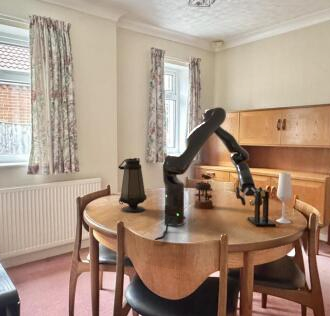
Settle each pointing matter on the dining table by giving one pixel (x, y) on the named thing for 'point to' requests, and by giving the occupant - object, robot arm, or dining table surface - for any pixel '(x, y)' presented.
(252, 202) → the latch lever
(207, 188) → the dark brown tall piece
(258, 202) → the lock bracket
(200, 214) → the dining table surface
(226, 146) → the robot arm
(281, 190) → the champagne flute
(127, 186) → the lantern
